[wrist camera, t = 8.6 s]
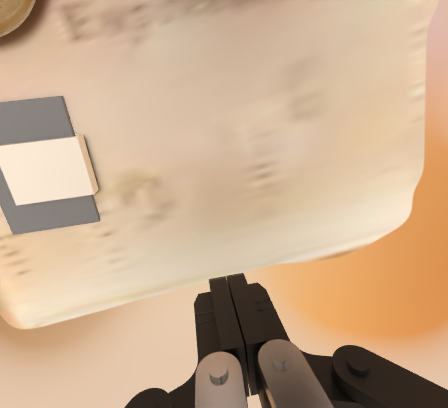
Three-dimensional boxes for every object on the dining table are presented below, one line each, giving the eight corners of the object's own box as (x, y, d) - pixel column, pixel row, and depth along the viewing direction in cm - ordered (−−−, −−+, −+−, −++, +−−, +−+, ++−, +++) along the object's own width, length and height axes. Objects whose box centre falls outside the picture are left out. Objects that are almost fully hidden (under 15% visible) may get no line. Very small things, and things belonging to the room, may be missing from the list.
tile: (83, 134, 33) (4, 143, 32) (77, 136, 30) (-9, 146, 29) (99, 189, 35) (26, 199, 34) (94, 194, 33) (16, 205, 32)
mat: (-40, 106, 30) (-44, 106, 30) (62, 96, 31) (60, 96, 31) (15, 232, 36) (13, 234, 35) (100, 219, 37) (99, 221, 37)
